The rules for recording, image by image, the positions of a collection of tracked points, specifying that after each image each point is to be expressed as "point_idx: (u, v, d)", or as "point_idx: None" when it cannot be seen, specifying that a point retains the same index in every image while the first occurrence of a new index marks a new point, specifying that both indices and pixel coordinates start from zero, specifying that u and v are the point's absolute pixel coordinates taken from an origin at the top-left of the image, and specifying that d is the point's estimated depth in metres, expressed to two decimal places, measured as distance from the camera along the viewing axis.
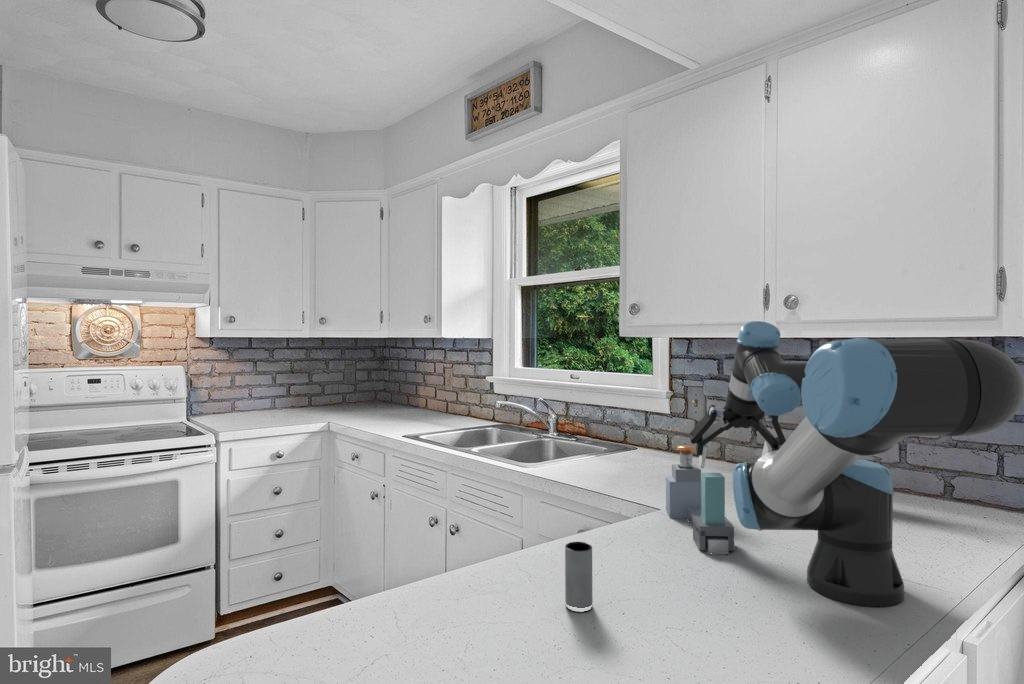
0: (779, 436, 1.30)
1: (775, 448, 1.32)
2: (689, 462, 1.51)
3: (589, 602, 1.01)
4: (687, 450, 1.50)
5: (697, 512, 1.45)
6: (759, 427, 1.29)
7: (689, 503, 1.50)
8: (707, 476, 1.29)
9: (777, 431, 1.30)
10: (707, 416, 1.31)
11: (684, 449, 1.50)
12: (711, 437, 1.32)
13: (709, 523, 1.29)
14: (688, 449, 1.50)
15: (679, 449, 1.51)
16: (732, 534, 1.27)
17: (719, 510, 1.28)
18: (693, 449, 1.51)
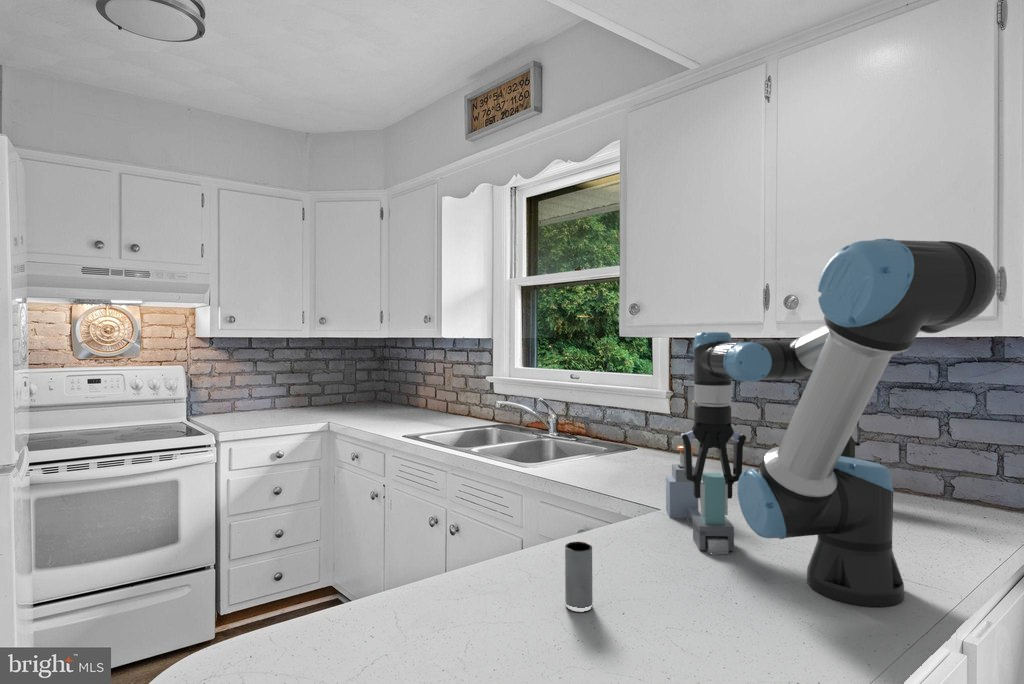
0: (737, 466, 1.29)
1: (730, 482, 1.28)
2: None
3: (589, 602, 1.01)
4: None
5: (697, 512, 1.45)
6: (725, 448, 1.28)
7: (689, 503, 1.50)
8: (707, 476, 1.29)
9: (738, 459, 1.29)
10: (684, 446, 1.31)
11: None
12: (701, 468, 1.29)
13: (709, 523, 1.29)
14: None
15: (679, 449, 1.51)
16: (732, 534, 1.27)
17: (719, 510, 1.28)
18: (693, 449, 1.51)
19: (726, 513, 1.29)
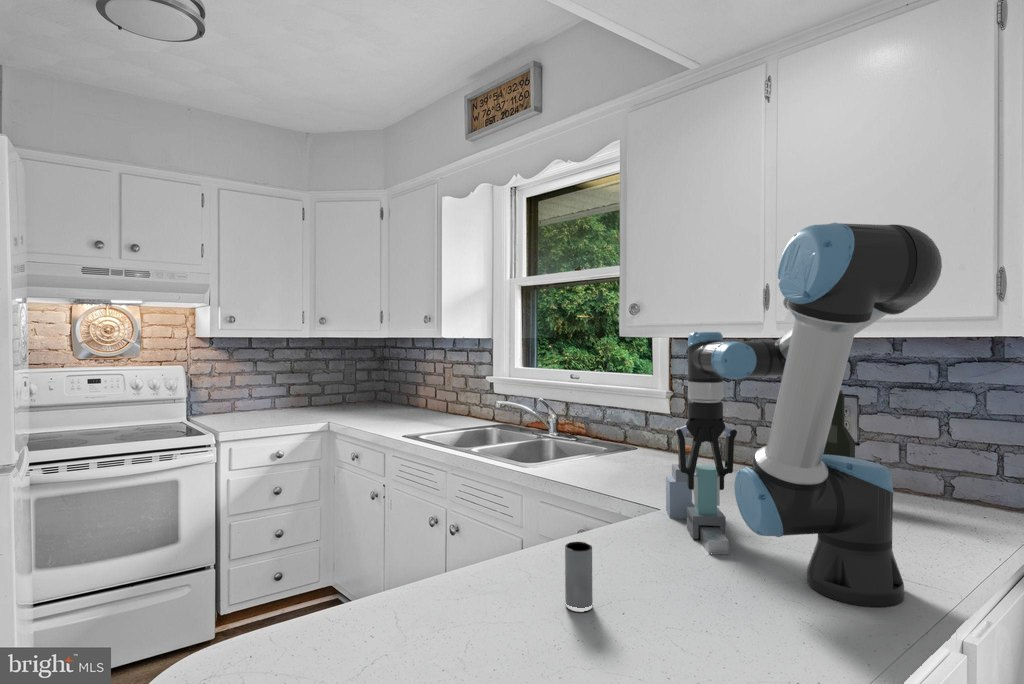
0: (729, 459, 1.36)
1: (722, 474, 1.35)
2: None
3: (589, 602, 1.01)
4: (687, 450, 1.50)
5: None
6: (717, 442, 1.35)
7: (689, 503, 1.50)
8: (700, 469, 1.36)
9: (729, 452, 1.36)
10: (678, 440, 1.38)
11: None
12: (694, 461, 1.36)
13: (702, 513, 1.36)
14: (688, 449, 1.50)
15: None
16: (724, 523, 1.34)
17: (711, 501, 1.35)
18: None
19: (718, 504, 1.36)
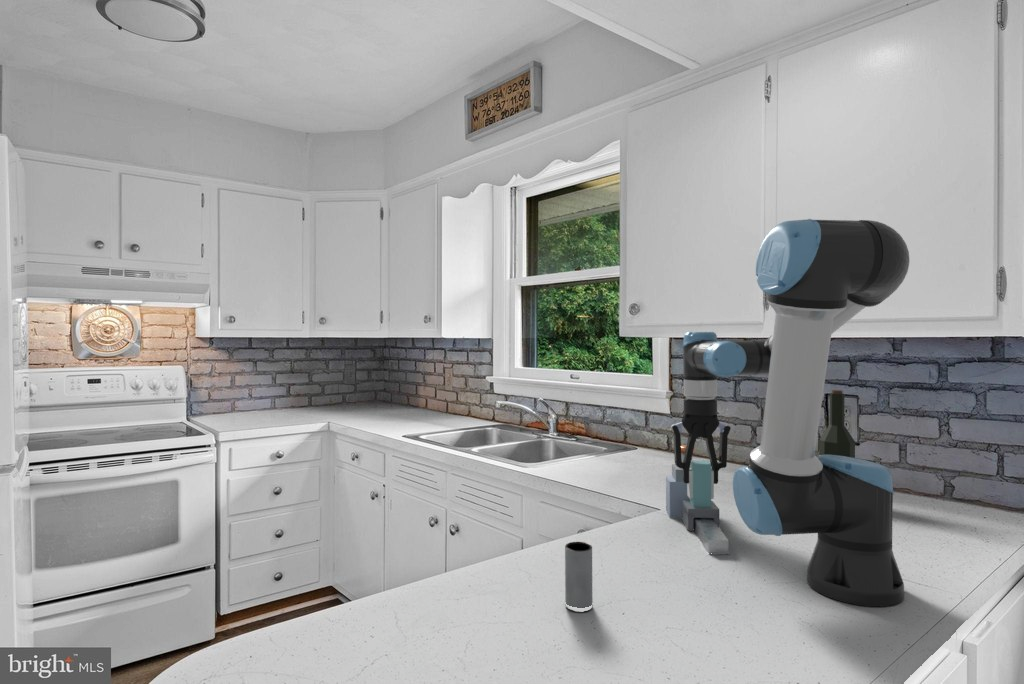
0: (723, 454, 1.41)
1: (716, 469, 1.41)
2: None
3: (589, 602, 1.01)
4: None
5: None
6: (711, 438, 1.41)
7: None
8: (695, 463, 1.42)
9: (723, 447, 1.41)
10: (674, 436, 1.43)
11: (684, 449, 1.50)
12: (689, 456, 1.42)
13: (697, 506, 1.41)
14: None
15: None
16: (718, 516, 1.39)
17: (705, 494, 1.41)
18: (693, 449, 1.51)
19: (712, 497, 1.41)
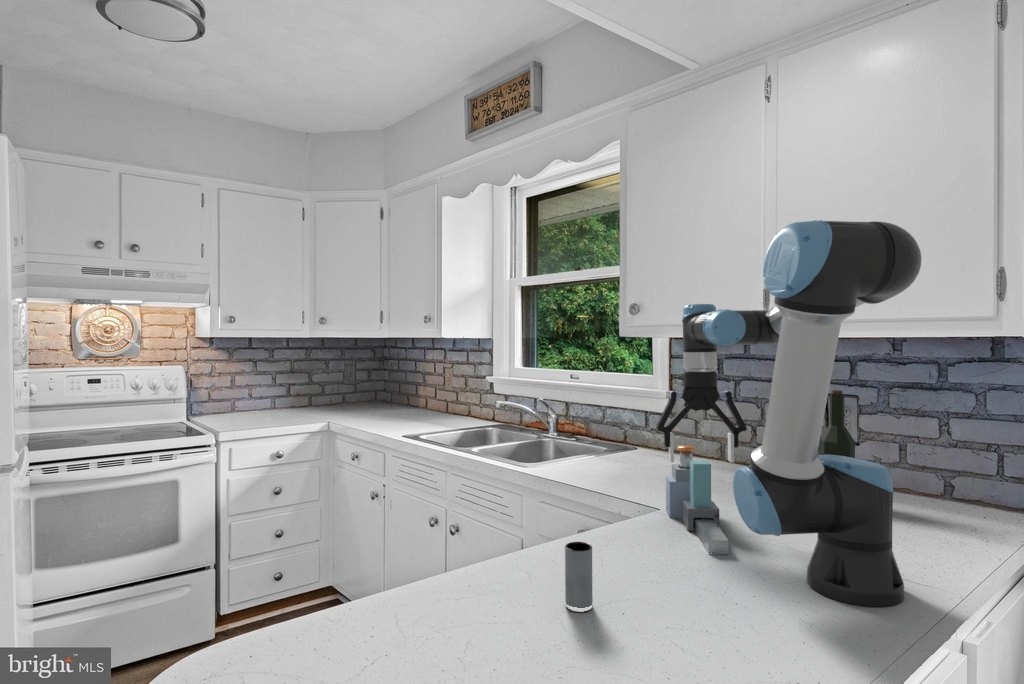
0: (737, 419, 1.40)
1: (736, 432, 1.40)
2: (689, 462, 1.51)
3: (589, 602, 1.01)
4: (687, 450, 1.50)
5: None
6: (717, 407, 1.40)
7: None
8: (695, 463, 1.42)
9: (734, 413, 1.41)
10: (668, 401, 1.43)
11: (684, 449, 1.50)
12: (675, 422, 1.42)
13: (697, 506, 1.41)
14: (688, 449, 1.50)
15: (679, 449, 1.51)
16: (718, 516, 1.39)
17: (705, 494, 1.41)
18: (693, 449, 1.51)
19: (733, 461, 1.40)
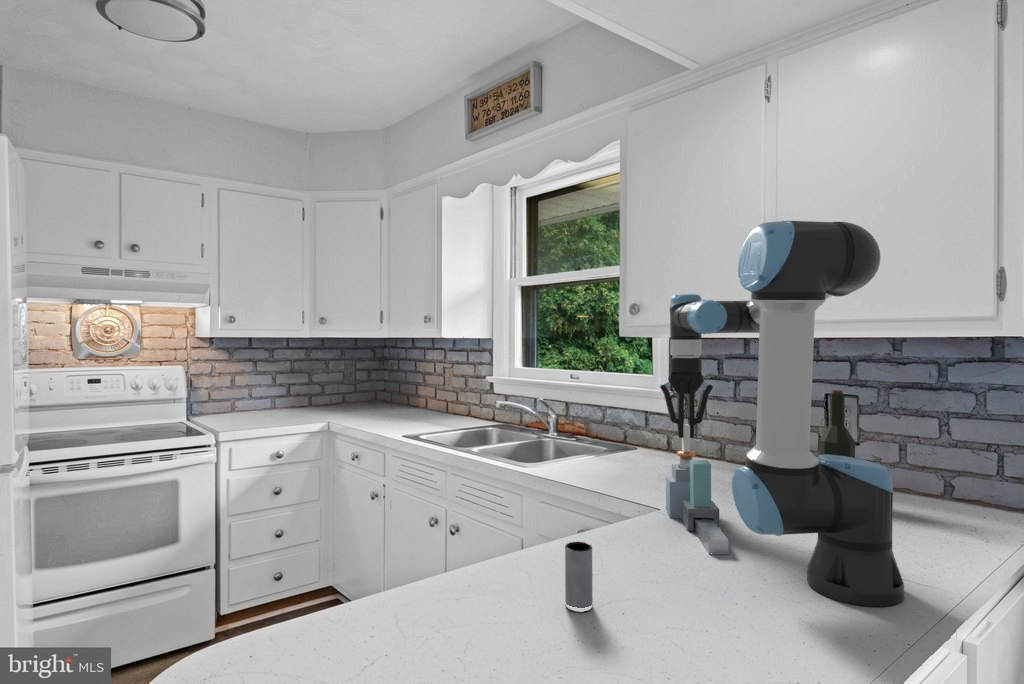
0: (700, 410, 1.51)
1: (692, 423, 1.50)
2: (689, 468, 1.51)
3: (589, 602, 1.01)
4: (687, 455, 1.50)
5: None
6: (693, 394, 1.50)
7: None
8: (695, 463, 1.42)
9: (702, 404, 1.51)
10: (664, 395, 1.53)
11: (684, 454, 1.50)
12: (681, 412, 1.51)
13: (697, 506, 1.41)
14: (688, 454, 1.50)
15: (679, 454, 1.51)
16: (718, 516, 1.39)
17: (705, 494, 1.41)
18: (693, 454, 1.51)
19: (689, 450, 1.51)
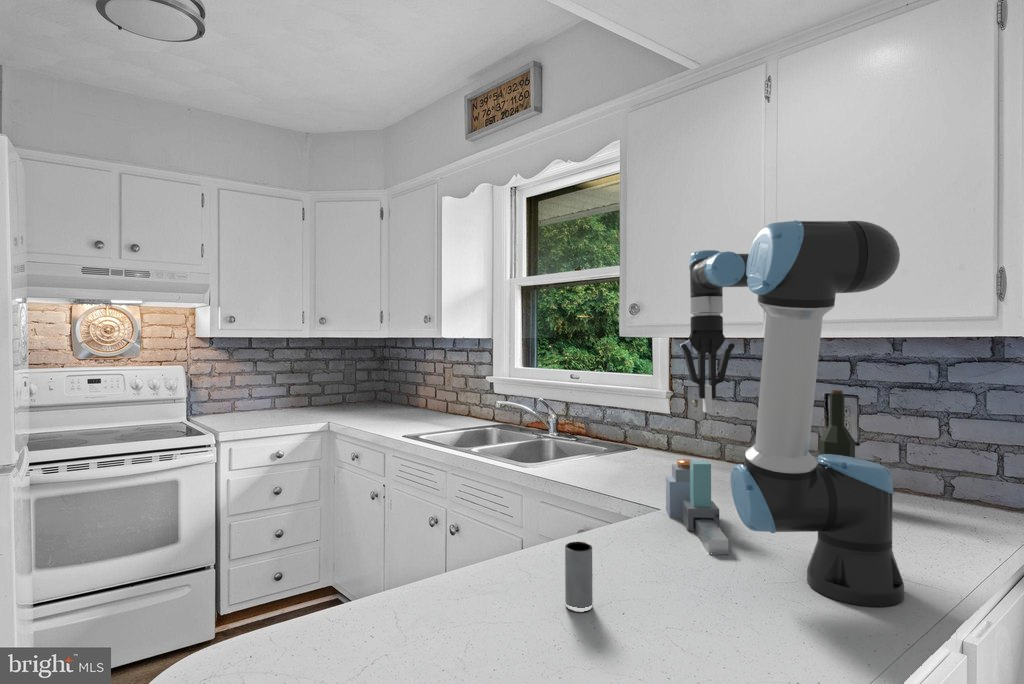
0: (722, 369, 1.47)
1: (713, 383, 1.47)
2: None
3: (589, 602, 1.01)
4: (687, 464, 1.50)
5: None
6: (715, 353, 1.47)
7: None
8: (695, 463, 1.42)
9: (724, 363, 1.47)
10: (685, 354, 1.49)
11: (684, 463, 1.50)
12: (703, 371, 1.47)
13: (697, 506, 1.41)
14: (688, 463, 1.50)
15: (679, 463, 1.51)
16: (718, 516, 1.39)
17: (705, 494, 1.41)
18: None
19: (710, 411, 1.47)
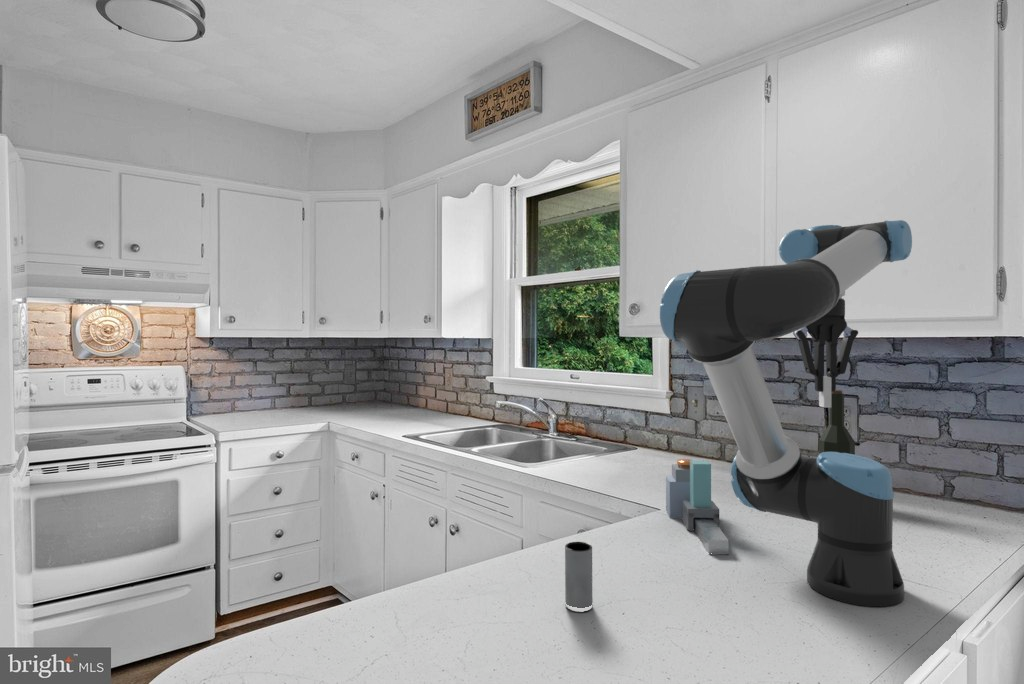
0: (844, 359, 1.31)
1: (834, 374, 1.31)
2: None
3: (589, 602, 1.01)
4: (687, 464, 1.50)
5: None
6: (836, 341, 1.31)
7: None
8: (695, 463, 1.42)
9: (846, 352, 1.31)
10: (800, 342, 1.33)
11: (684, 463, 1.50)
12: (821, 361, 1.31)
13: (697, 506, 1.41)
14: (688, 463, 1.50)
15: (679, 463, 1.51)
16: (718, 516, 1.39)
17: (705, 494, 1.41)
18: None
19: (830, 405, 1.31)
